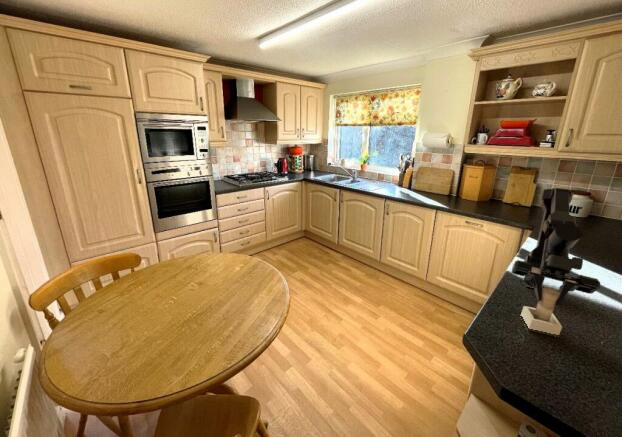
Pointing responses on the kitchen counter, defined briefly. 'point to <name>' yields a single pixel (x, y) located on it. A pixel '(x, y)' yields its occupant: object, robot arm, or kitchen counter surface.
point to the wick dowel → (546, 304)
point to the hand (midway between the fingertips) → (548, 303)
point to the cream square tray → (540, 322)
